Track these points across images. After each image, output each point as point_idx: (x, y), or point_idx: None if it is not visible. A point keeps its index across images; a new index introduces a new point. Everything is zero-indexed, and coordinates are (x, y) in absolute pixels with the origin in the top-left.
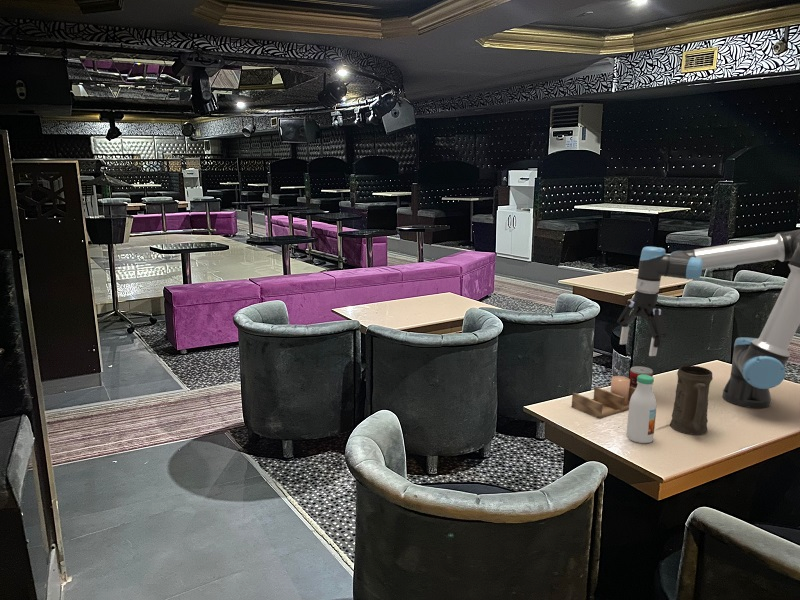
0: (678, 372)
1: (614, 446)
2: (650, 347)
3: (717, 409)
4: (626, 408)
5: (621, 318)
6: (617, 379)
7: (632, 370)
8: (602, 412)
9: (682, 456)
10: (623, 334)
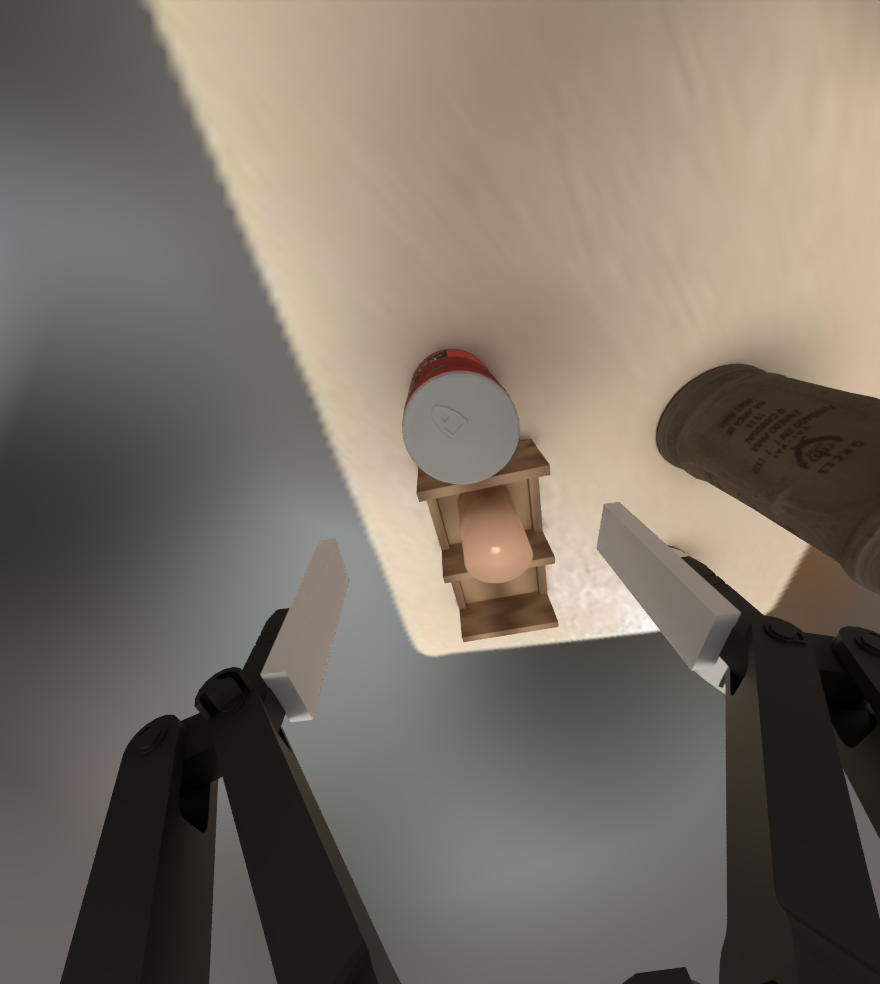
0: (874, 591)
1: (644, 619)
2: (633, 591)
3: (714, 95)
4: (540, 521)
5: (210, 848)
6: (500, 572)
7: (455, 483)
8: None
9: (767, 544)
10: (329, 639)
